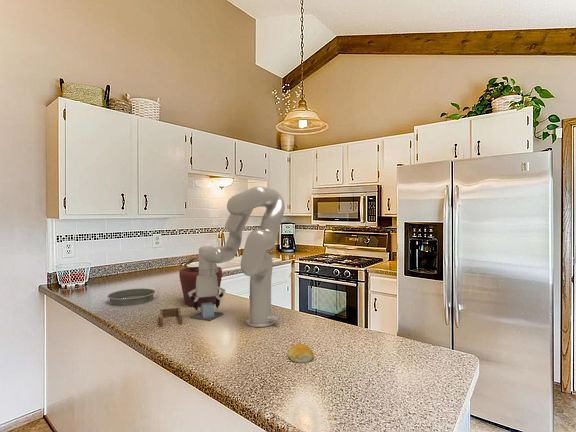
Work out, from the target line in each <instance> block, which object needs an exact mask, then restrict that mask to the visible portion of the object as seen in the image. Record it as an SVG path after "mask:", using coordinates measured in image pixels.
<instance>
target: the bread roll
mask: <svg viewBox="0 0 576 432" xmlns="http://www.w3.org/2000/svg"><path fill="white" fill-rule="evenodd" d="M287 356H288V359H290V360H291V361H292V362H295V363H298V364H299V363H301V364H302V363H310V362H311V361H312V360H313V359H314V356H315V355H314V351H313V350H311V349H310V347H309V346H308V345H306V344H302V343H297V344H294V345H292V346H291V347H290V348H289V350H288V353H287Z"/></svg>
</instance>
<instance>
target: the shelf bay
mask: <svg viewBox="0 0 576 432" xmlns="http://www.w3.org/2000/svg"><path fill="white" fill-rule="evenodd" d="M176 316H177V318H178V322H179V325H183V314H182V311H181V307H173V308H163V309H159V326H160V327H161V328H163V327H164V318H168V317H176Z"/></svg>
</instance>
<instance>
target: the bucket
mask: <svg viewBox="0 0 576 432" xmlns="http://www.w3.org/2000/svg"><path fill="white" fill-rule="evenodd" d="M197 259H198V260H199V256H198V257H193V258H190V259H189V260H187V261H186V262H185V263H184V264H183V269H179V271H178V273H179V275H178V276H179V281H180V286H181V290H182V294H183V295H182V296H183V300H184V304H185V305H186V306H187V307H189V308H194V301H193V300H192V299H191V298H190V296H189V295H188V292H190V291H191V290H193V289H195V288H196V279H197V276H198V275H199V266H191V267H188V266H187V265H190V264H192V263H193V261H195V260H197ZM215 269H216V270H218V272H216V273H215V274H216V276H217V282H218V287H221V283H222V277H223V269H222V267H221V266H218V265H217V263H215ZM219 295H220V290H218V296H219ZM192 296H193V297H194V298H195V296H196V292H194V293H192ZM216 299H217V298H216V296H213V297H202V298H199V299H198V300H197V302H198V308H201V303H209V302H212V303H213V305H214V306H216Z"/></svg>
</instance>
